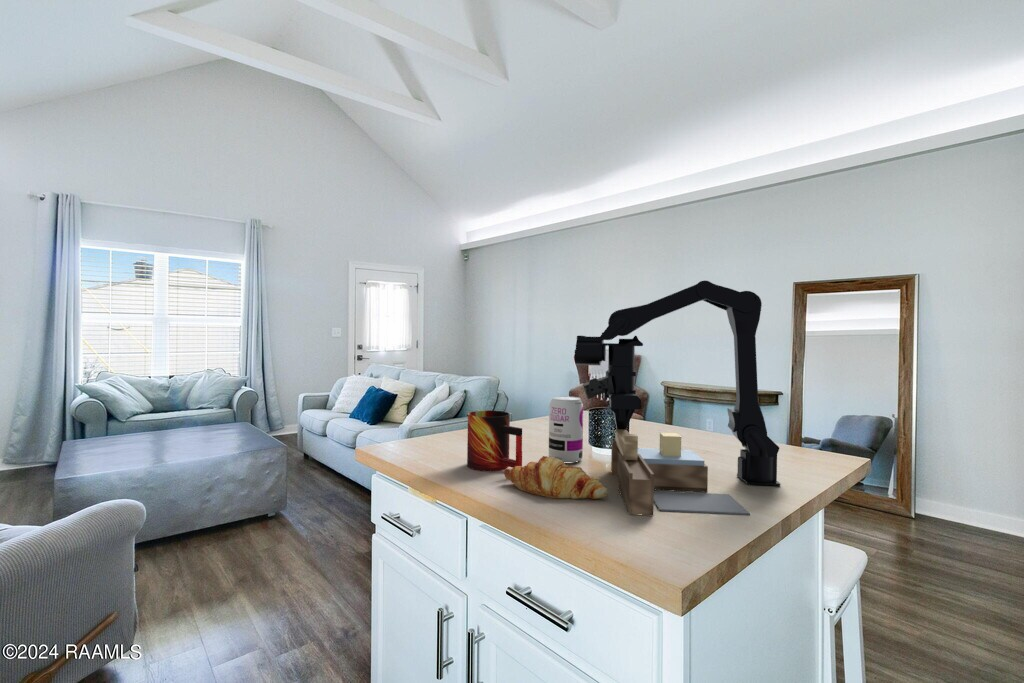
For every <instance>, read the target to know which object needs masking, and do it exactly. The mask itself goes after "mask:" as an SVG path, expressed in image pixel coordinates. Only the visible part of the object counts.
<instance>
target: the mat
mask: <svg viewBox="0 0 1024 683" xmlns="http://www.w3.org/2000/svg"><path fill="white" fill-rule="evenodd" d="M654 502H655V503H654V504H655V506H656V505H657V506H656V508H657V507H658V508H657V510H658V509H659V510H658V511H659V512H674V511H675V512H677V513H698V514H700V513H701V514H718V515H719V514H723V515H740V516H742V515H744V516H750V515H751V512H749V511H748V510H747V509H746V508H745V507H744V506H743V505H742V504H741V503H739V502H738V501H737V500H736V499H735V498H734V497H733V496H731V495H730V494H729V493H714V492H713V493H712V492H711V493H708V492H687V491H664V490H654ZM660 510H661V511H660Z"/></svg>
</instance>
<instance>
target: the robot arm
mask: <svg viewBox="0 0 1024 683" xmlns="http://www.w3.org/2000/svg"><path fill="white" fill-rule="evenodd" d="M701 301H703V302H706V303H708V304H710V305H712V306H714V307H716V308H718V309H721V310H724V311H726V315H727V318H728V324H729V326H730V329H731V331H732V335H733V346H734V347H733V349H734V371H735V392H736V393H735V395H736V396H735V397H736V399H735V400H736V401H735V405H734V408H729V407H728V408H727V414H728V423H727V427H728V428H729V429H730V430H731V433H732V435H733V436H734V437H735V438H736V439H737V441H739V442H740V444H741V446H742V448H741V449H740V450H739V452H740V453H739V454H740V456H737V473H736V477H737V478H739V479H740V480H742V481H743V482H744V483H745V484H747V485H753V486H756V485H757V486H778V487H779V486H781V482H779V480H778V477H777V476H778V453H779V451H780V446H779V445H777V443H776V442H775V441H773V440H772V439H771V438H770V437H769V436H768V430H767V425H766V421H765V417H764V413H763V412H762V408H761V406H760V403H759V389H758V388H759V386H758V368H757V345H756V341H757V339H756V336H757V335H756V334H757V330H758V326H759V323H760V319H761V313H762V312H761V311H762V306H763V305H762V304H763V303H762V299H761V297H760V296H759V295H758V294H756V293H755V292H753V291H750V290H743V291H738V290H735V289H732V288H730V287H726V286H722V285H718V284H716V283H714V282H711V281H709V280H700V281H699V282H698V283H696V284H694V285H692V286H689V287H687V288H684V289H681V290H679V291H677V292H674V293H671V294H669V295H667V296H664V297H662V298H658V299H656V300H654V301H652V302H649V303H646V304H642V305H636V306H631V307H626V308H622V309H621V308H620V309H618V310H614V312H612V314H610V316H609V318H608V322H607V323H608V326H607V327H606V329H604V331H603V332H601V334H600V336H586V335H577V336H576V343H575V349H574V363H575V365H576V366H600V367H601V364H602V362H606V357H607V347H608V357H607V358H608V359H607V360H608V361H607V362H608V367H607V370H606V371H605V376H603V377H599V378H596V377H594V378H593V379H589V380H588V382H585V383H583V384H582V388H583V390H584V393H585V396H586V398H587V399H588V400H589V399H593V398H595V397H596V396H600V395H602V394H603V396H602V397H603V399H604V400H607V399H609V401H607V402H605V404H606V405H607V407H608V408H609V409H610V411H612V414H613V418H614V423H615V427H616V429H620V430H627V427H628V425H629V423H630V422H631V419H632V417H633V416H634V413H635V411H636V410H642V399H641V398H640V397H639V395H637V394H636V389H635V377H637V376H636V375H637V372H636V370H635V353H636V352H635V351H636V350H635V348H636V347H643V346H644V343H643V342H642V341H641V340H640V339H639V337H638V336H637V335H634V336H633V337H632V338H619V339H618V343H611V342H610V343H609V342H608V343H607V342H606V343H605V342H604V341H611V340H613V339H614V338H617V337H618V336H619V337H624V336H628V335H630V334H632V333H633V332H635V331H637V330H638V329H640V328H641V327H643V326H645V325H646V324H649V323H650V322H651V321H653V320H656V319H658V318H660V317H663V316H666V315H668V314H671V313H673V312H676V311H679V310H682V309H684V308H685V307H686V308H687V307H689V306H691V305H694V304H696V303H698V302H701ZM743 448H744V449H743Z"/></svg>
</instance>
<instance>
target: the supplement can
mask: <svg viewBox="0 0 1024 683" xmlns="http://www.w3.org/2000/svg"><path fill="white" fill-rule="evenodd" d="M548 409H549V411H548V412H549V414H548V415H549V416H548V457H553V458H555V459H559V460H561V461H563V462H576V461H579V460H580V461H581V460H582V459H583V455H584V454H583V452H584V451H583V449H584V448H583V446H584V445H583V442H584V436H583V435H584V431H583V430H584V404H583V401H582V399H581V397H577V396H568V395H567V396H565V395H564V396H563V395H562V396H561V395H560V396H553V397H551V400H550V402H549V405H548ZM580 461H579V462H580Z"/></svg>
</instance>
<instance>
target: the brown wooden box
mask: <svg viewBox="0 0 1024 683" xmlns="http://www.w3.org/2000/svg"><path fill="white" fill-rule="evenodd" d="M610 456H611V459H610V460H611V462H610V464H611V466H610V468H611V469H610V470H611V471H612V472H611V473H612V475H617V478H618V484H617V488H619V489H618V491H619V493H621V494H620V496H621V498H623V499H622V501H623V500H624V501H623V504H624V503H625V504H624V506H625V505H626V506H625V509H626V508H627V509H626V511H627V510H628V511H627V513H628V515H629V514H642V515H641V516H647V515H653V516H654V504H655V503H654V491H664V490H674V491H673V492H687V491H693V492H692V493H708V481H709V480H708V479H709V478H708V474H709V472H708V470H709V466H708V465H706V463H704V466H695V465H668V464H646V462H645V461H644V459H643V458H642V457H641V455H640V454H638V460H625V459H624V457H623V455H622V453H620V450H619V449H618V447H617V445H616V443H615V439H611V455H610ZM654 489H656V490H654Z"/></svg>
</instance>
